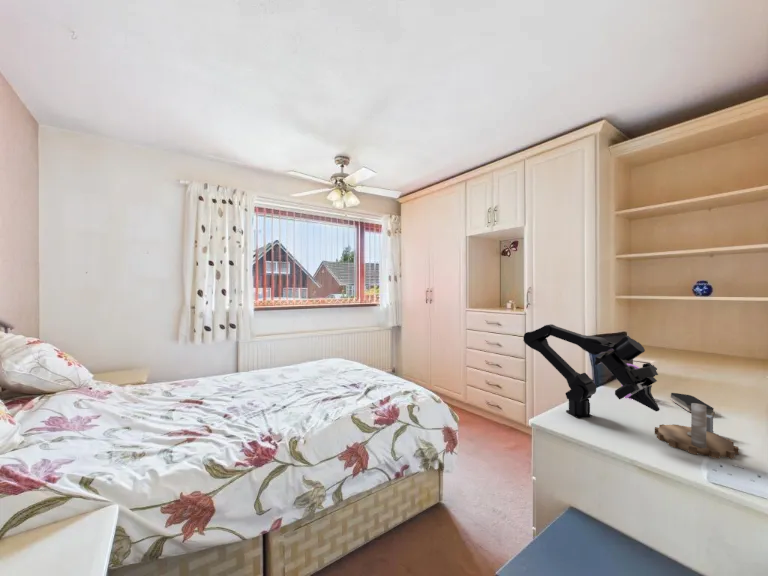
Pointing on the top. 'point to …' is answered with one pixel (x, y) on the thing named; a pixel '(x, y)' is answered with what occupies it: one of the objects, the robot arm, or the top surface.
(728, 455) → the sprocket
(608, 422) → the top surface
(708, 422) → the grey toy mallet
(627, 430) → the top surface
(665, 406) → the top surface
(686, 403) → the black sponge
